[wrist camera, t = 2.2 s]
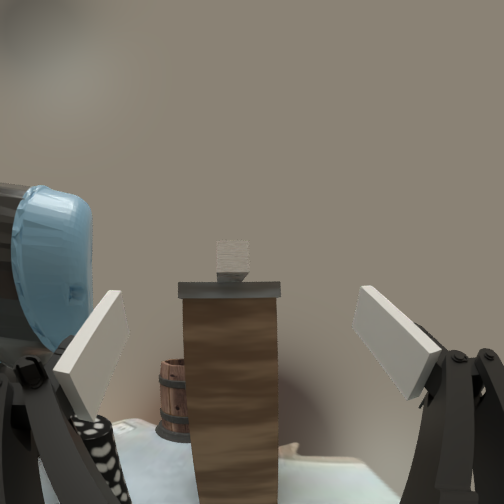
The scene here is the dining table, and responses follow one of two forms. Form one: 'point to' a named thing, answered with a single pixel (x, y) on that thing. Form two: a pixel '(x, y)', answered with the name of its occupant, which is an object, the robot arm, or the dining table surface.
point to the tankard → (173, 402)
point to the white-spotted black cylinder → (104, 453)
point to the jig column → (232, 389)
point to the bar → (232, 260)
